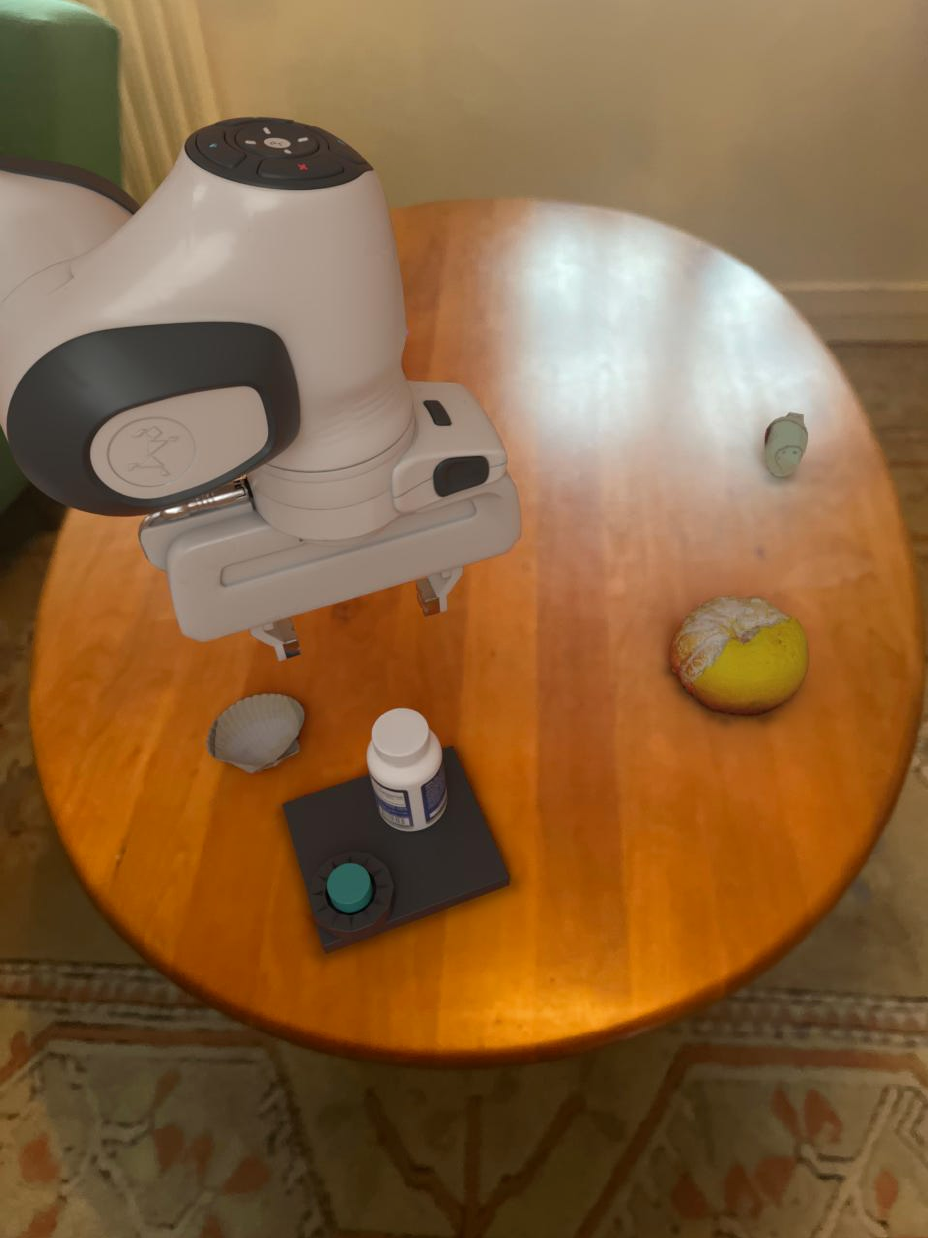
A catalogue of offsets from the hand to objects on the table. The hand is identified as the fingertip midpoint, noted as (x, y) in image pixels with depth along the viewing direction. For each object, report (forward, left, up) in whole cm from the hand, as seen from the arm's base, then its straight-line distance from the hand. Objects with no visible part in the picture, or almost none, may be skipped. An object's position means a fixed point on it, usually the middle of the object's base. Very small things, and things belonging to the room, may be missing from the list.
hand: (361, 628), depth 59 cm
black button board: (-1, -5, -20) cm, 21 cm away
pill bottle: (+1, -2, -19) cm, 19 cm away
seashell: (-9, +8, -21) cm, 24 cm away
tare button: (-5, -8, -18) cm, 20 cm away
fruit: (+31, 0, -21) cm, 37 cm away
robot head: (+48, +20, -21) cm, 56 cm away
